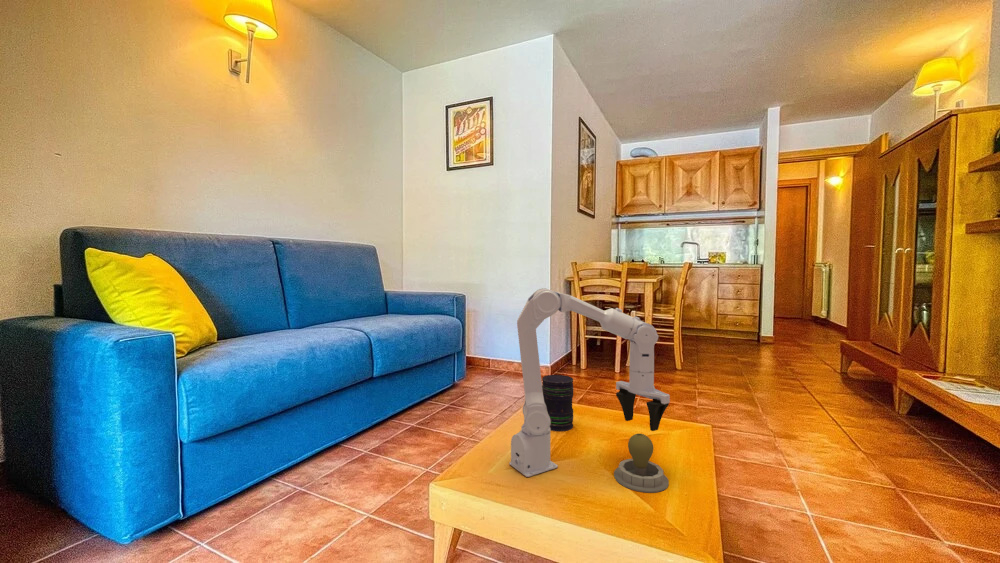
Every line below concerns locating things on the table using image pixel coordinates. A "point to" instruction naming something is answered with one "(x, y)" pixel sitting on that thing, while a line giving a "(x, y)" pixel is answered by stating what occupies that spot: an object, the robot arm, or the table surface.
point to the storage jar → (559, 401)
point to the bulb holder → (641, 477)
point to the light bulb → (640, 452)
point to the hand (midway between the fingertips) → (641, 424)
